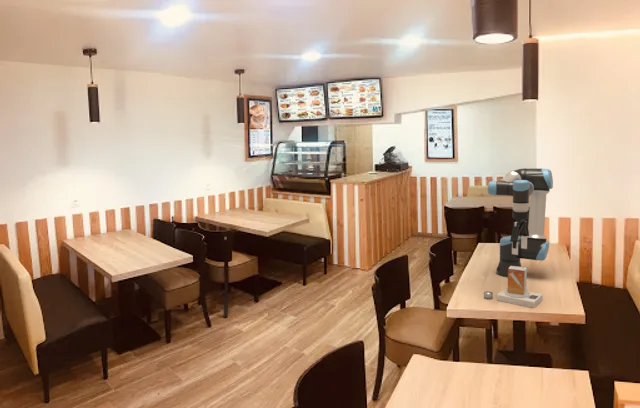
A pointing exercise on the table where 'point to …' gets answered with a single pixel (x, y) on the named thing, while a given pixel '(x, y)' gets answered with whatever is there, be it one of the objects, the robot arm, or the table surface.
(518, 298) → the scale
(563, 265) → the table surface
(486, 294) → the spacer
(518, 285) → the small box
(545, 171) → the robot arm
